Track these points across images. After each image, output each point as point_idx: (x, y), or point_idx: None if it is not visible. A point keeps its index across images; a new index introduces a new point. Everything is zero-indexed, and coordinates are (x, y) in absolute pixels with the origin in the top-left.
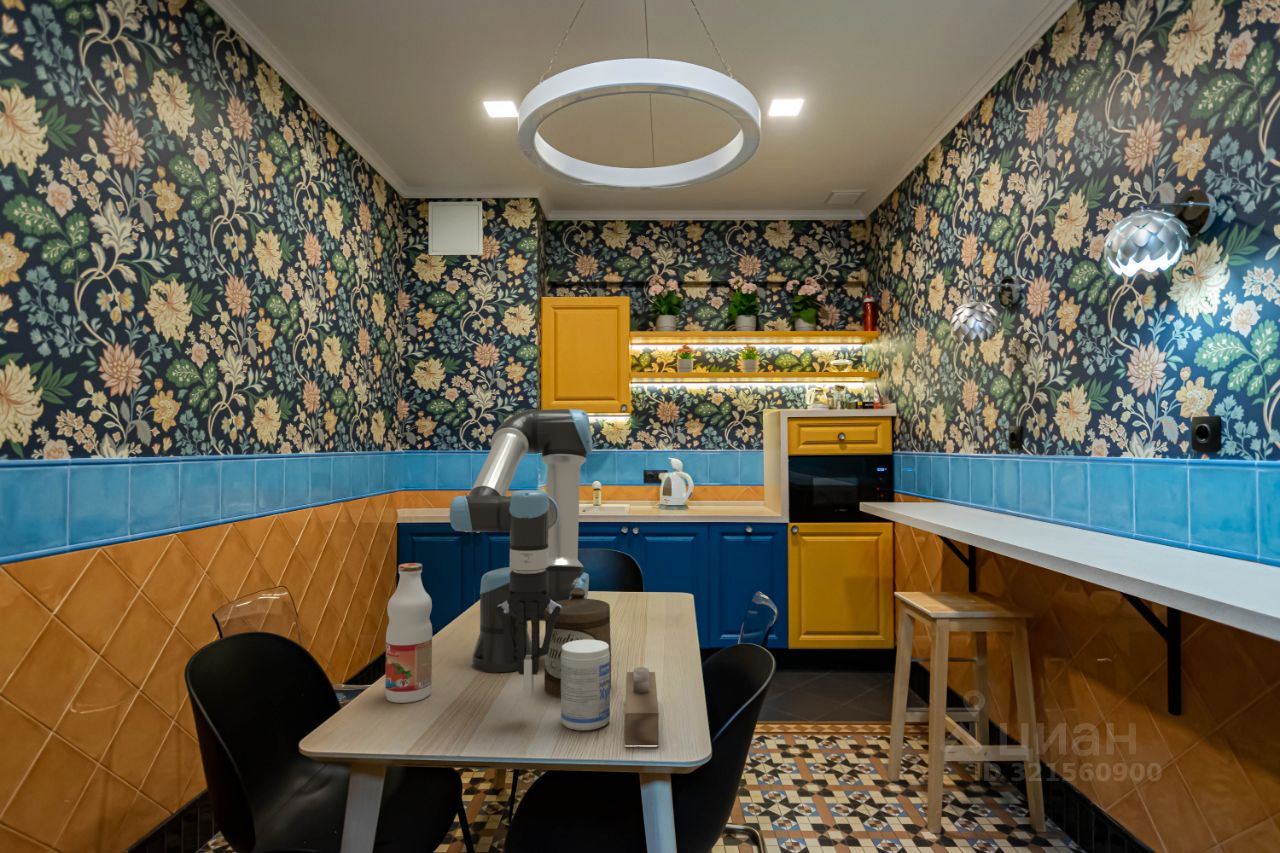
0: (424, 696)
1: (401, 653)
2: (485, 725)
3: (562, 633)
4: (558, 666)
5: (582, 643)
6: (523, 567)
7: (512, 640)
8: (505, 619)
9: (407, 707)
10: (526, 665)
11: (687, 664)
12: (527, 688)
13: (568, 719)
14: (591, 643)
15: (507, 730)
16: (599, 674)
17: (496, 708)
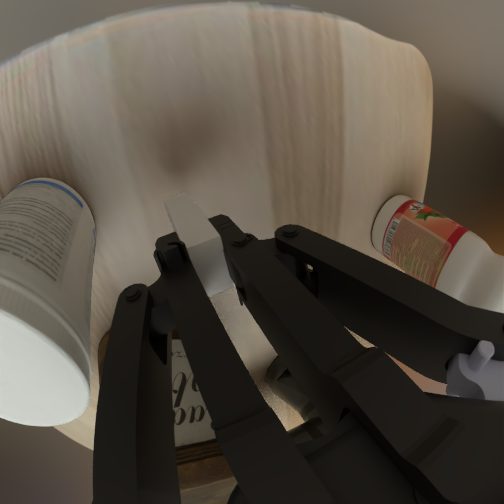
0: (377, 220)
1: (454, 226)
2: (252, 139)
3: (193, 432)
4: (178, 359)
5: (29, 397)
6: None
7: (325, 265)
8: (448, 318)
9: (386, 185)
10: (200, 228)
11: (76, 438)
12: (178, 199)
13: (50, 182)
14: (8, 401)
15: (194, 126)
16: None
17: (261, 224)
